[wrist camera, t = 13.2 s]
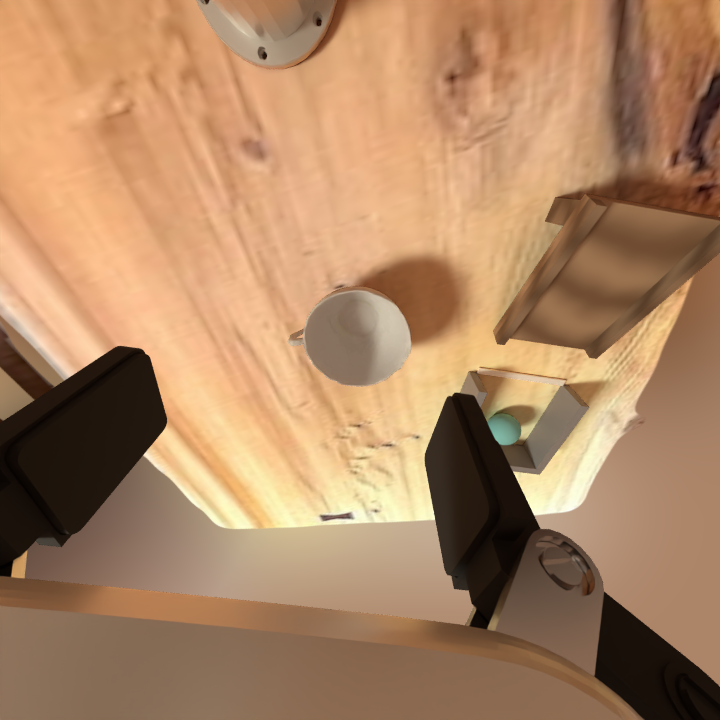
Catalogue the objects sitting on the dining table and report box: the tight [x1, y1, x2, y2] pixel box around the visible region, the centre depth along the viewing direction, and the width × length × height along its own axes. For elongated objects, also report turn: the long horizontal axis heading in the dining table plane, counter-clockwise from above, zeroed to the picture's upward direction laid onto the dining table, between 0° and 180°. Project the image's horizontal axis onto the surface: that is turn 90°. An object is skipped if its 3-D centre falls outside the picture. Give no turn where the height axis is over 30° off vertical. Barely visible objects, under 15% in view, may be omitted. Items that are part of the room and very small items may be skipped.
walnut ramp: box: [493, 194, 720, 359], centre depth 34 cm, size 18×14×8 cm
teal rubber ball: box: [488, 413, 521, 445], centre depth 47 cm, size 5×5×5 cm
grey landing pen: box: [460, 367, 589, 475], centre depth 47 cm, size 16×16×5 cm
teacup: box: [288, 286, 412, 387], centre depth 37 cm, size 15×12×8 cm
